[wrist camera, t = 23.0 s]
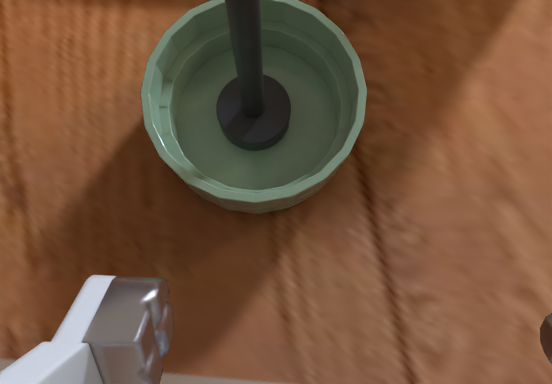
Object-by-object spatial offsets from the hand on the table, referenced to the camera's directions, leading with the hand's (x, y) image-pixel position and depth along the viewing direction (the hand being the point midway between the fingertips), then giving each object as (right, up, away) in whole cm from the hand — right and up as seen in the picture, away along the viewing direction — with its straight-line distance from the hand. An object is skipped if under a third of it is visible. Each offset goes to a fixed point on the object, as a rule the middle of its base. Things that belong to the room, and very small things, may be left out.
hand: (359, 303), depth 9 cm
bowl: (-3, +8, +24) cm, 26 cm away
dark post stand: (-3, +8, +24) cm, 25 cm away
